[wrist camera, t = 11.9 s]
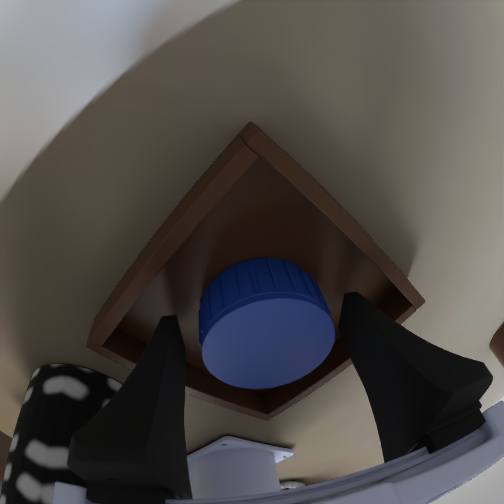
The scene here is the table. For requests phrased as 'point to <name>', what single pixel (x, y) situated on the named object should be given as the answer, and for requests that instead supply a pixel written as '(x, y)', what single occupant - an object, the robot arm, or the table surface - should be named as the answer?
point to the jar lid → (264, 324)
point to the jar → (498, 345)
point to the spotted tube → (51, 430)
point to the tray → (241, 249)
